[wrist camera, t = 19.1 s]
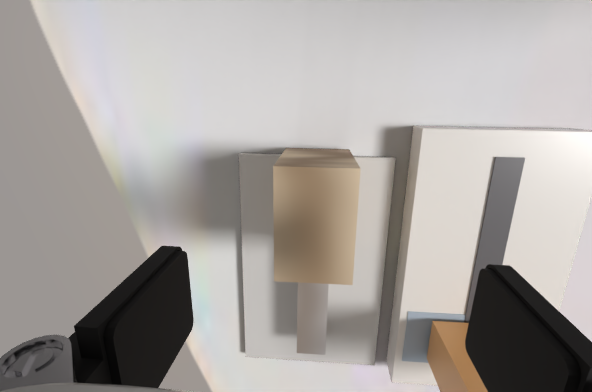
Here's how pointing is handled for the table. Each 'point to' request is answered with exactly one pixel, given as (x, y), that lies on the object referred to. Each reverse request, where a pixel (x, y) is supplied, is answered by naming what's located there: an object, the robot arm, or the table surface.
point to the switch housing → (482, 225)
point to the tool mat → (283, 295)
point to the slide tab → (452, 358)
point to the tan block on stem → (314, 232)
